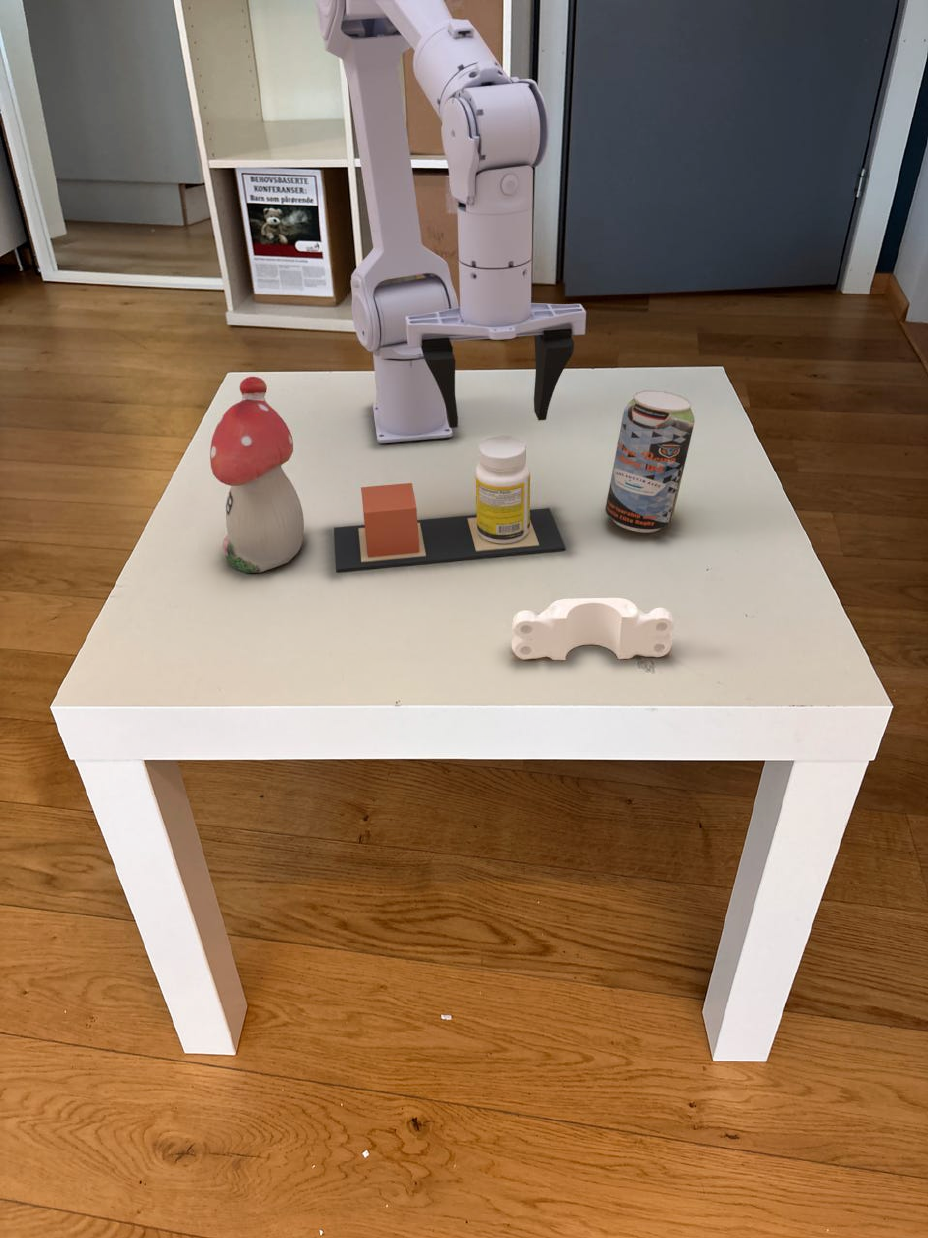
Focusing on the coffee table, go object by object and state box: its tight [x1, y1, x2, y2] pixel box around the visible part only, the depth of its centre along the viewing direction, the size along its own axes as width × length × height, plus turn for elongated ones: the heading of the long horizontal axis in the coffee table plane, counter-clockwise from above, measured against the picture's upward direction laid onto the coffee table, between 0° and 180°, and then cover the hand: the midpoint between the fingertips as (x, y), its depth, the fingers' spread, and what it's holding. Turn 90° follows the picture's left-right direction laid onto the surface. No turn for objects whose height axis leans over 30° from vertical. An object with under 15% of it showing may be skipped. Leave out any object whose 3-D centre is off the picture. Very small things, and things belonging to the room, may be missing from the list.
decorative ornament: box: [209, 376, 305, 574], centre depth 82 cm, size 9×7×15 cm
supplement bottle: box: [474, 435, 531, 544], centre depth 85 cm, size 5×5×8 cm
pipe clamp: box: [510, 597, 675, 661], centre depth 73 cm, size 12×2×4 cm, turn 90°
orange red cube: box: [360, 482, 419, 557], centre depth 86 cm, size 4×4×4 cm
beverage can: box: [605, 389, 696, 533], centre depth 86 cm, size 6×7×12 cm
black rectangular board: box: [333, 507, 566, 573], centre depth 87 cm, size 7×20×1 cm, turn 98°
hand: (496, 419), depth 85 cm, fingers open, 7 cm apart
